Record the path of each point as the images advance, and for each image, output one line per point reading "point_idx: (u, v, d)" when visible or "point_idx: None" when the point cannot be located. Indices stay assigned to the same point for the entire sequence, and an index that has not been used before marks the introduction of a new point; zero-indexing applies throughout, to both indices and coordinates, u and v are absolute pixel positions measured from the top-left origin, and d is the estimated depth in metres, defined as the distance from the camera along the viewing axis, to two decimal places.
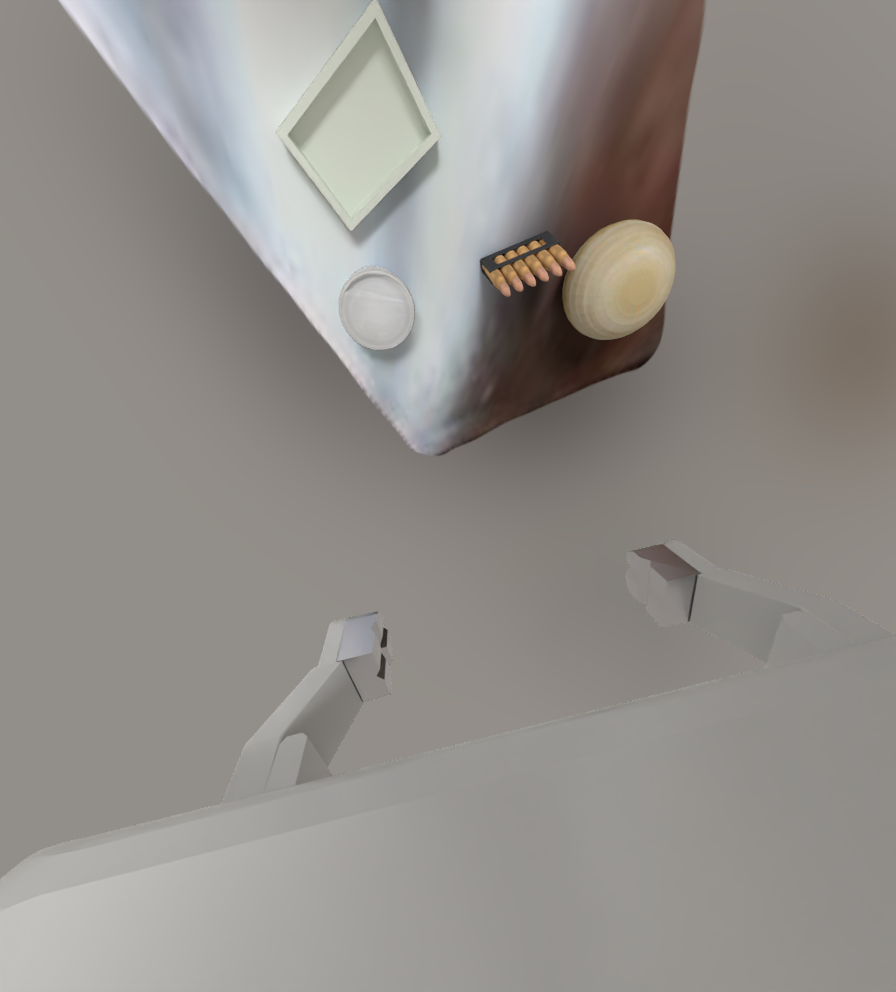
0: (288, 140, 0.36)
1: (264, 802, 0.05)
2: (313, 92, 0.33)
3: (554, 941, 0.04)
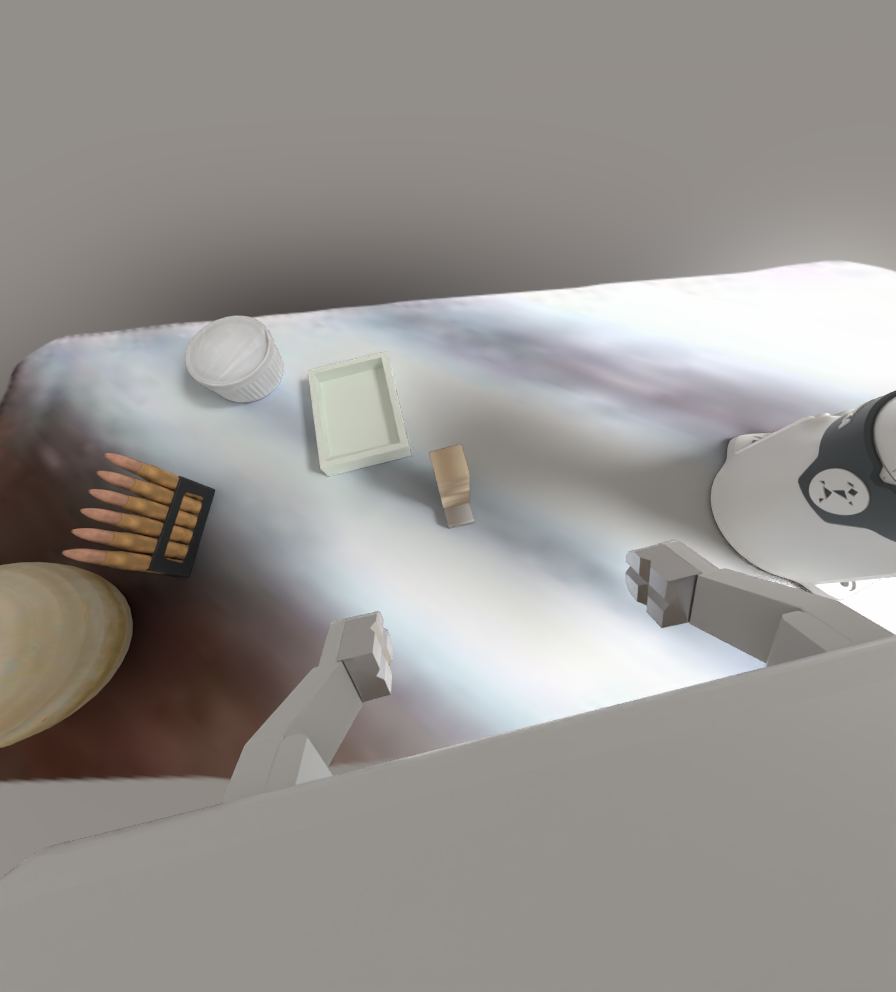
0: (378, 356, 0.43)
1: (264, 802, 0.05)
2: (390, 385, 0.41)
3: (554, 942, 0.03)
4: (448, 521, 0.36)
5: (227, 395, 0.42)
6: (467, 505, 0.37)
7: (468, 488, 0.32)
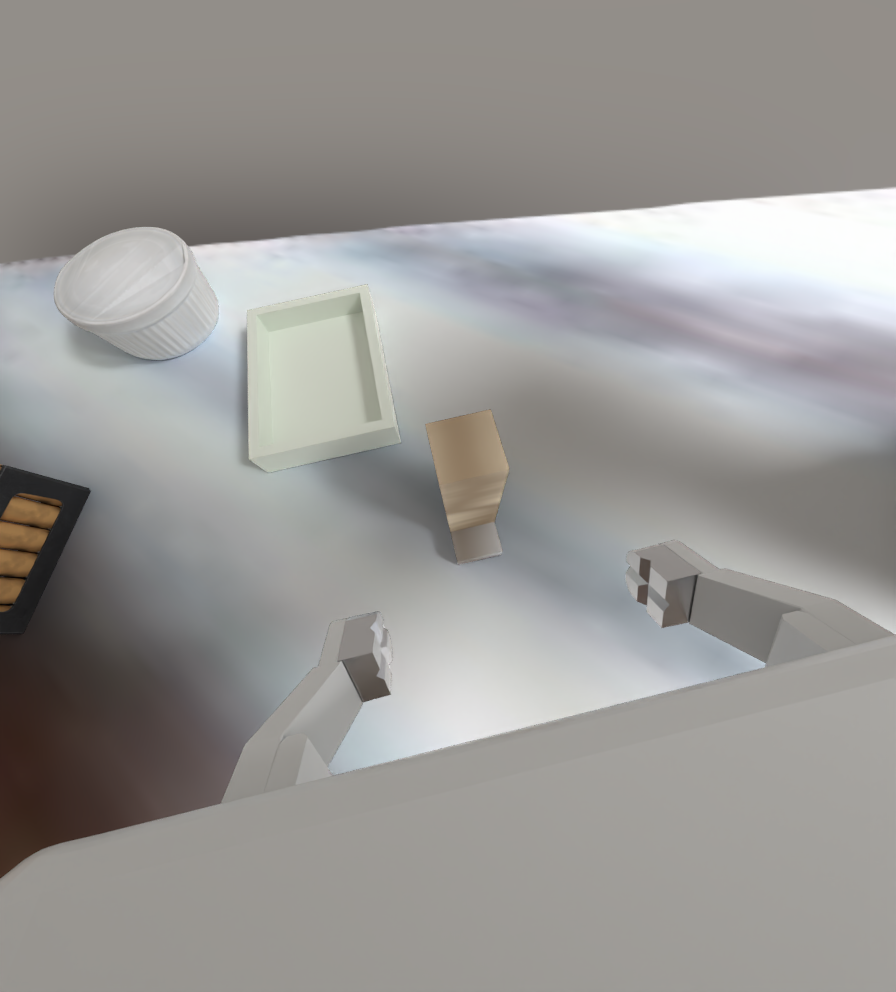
0: (355, 291, 0.28)
1: (264, 802, 0.05)
2: (371, 332, 0.26)
3: (554, 943, 0.03)
4: (458, 554, 0.21)
5: (121, 344, 0.27)
6: (491, 526, 0.21)
7: (498, 499, 0.17)
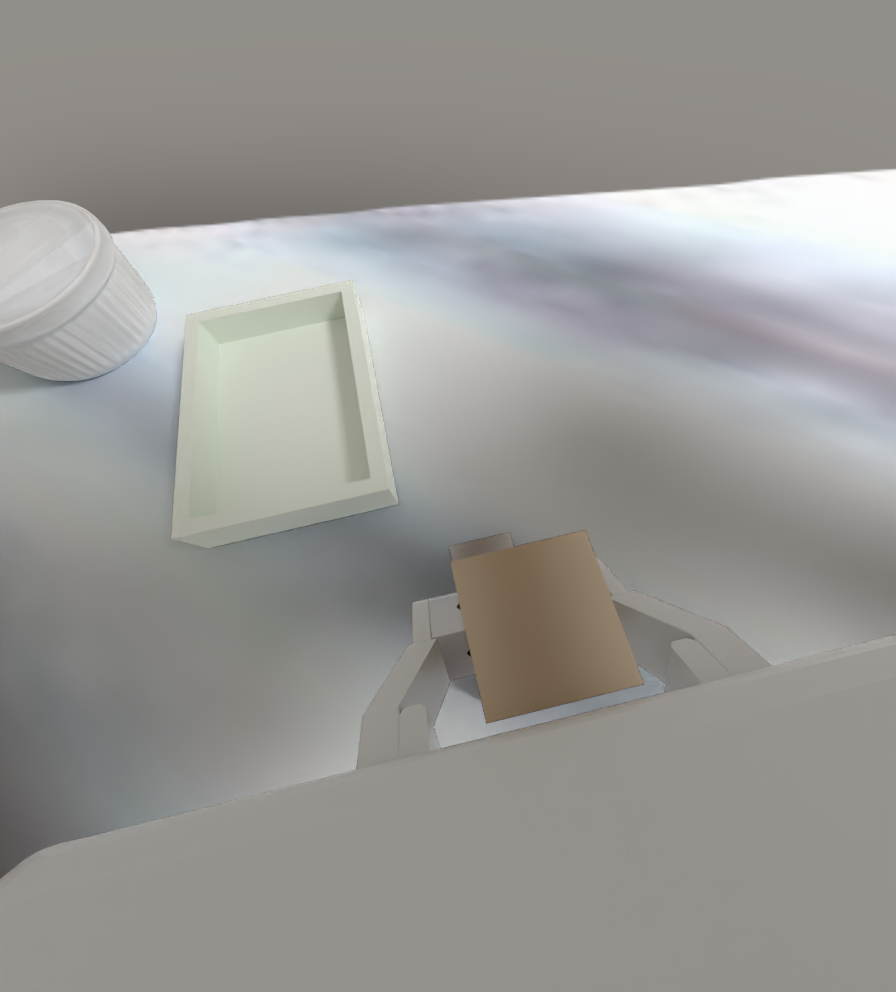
0: (335, 289, 0.20)
1: (264, 802, 0.05)
2: (356, 346, 0.19)
3: (554, 942, 0.03)
4: None
5: (8, 362, 0.20)
6: None
7: None
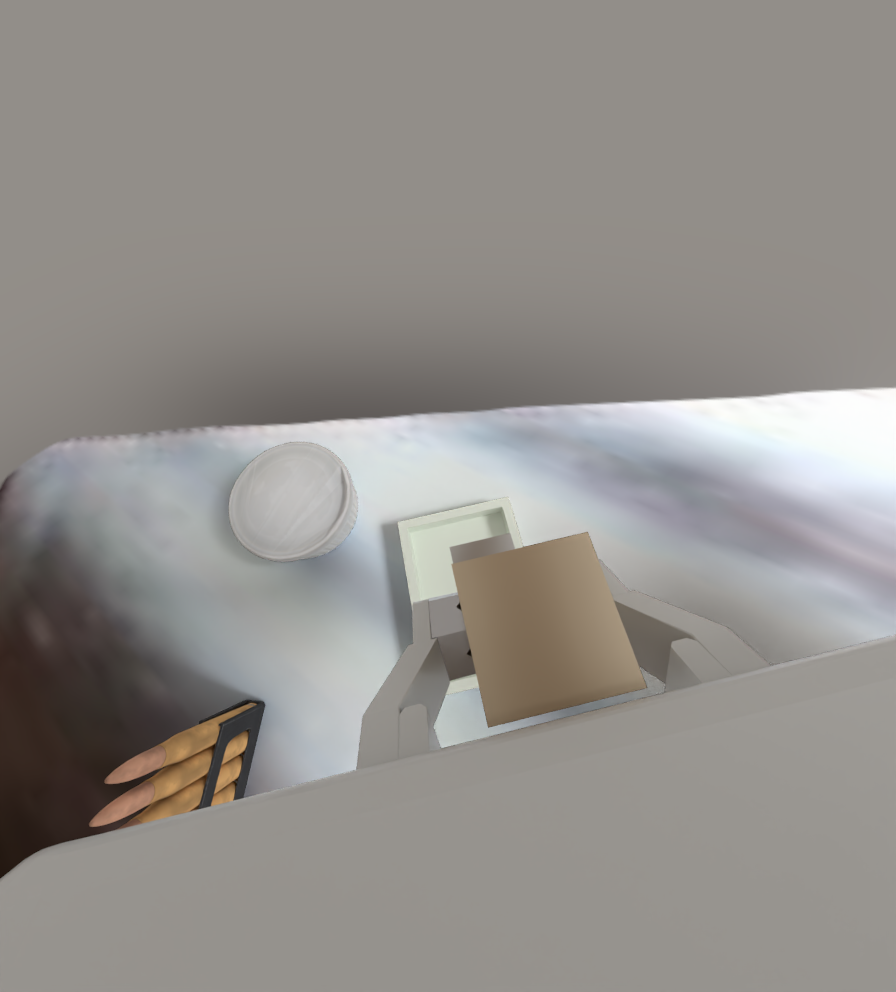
0: (498, 505, 0.30)
1: (264, 802, 0.05)
2: None
3: (554, 941, 0.04)
4: None
5: None
6: None
7: None
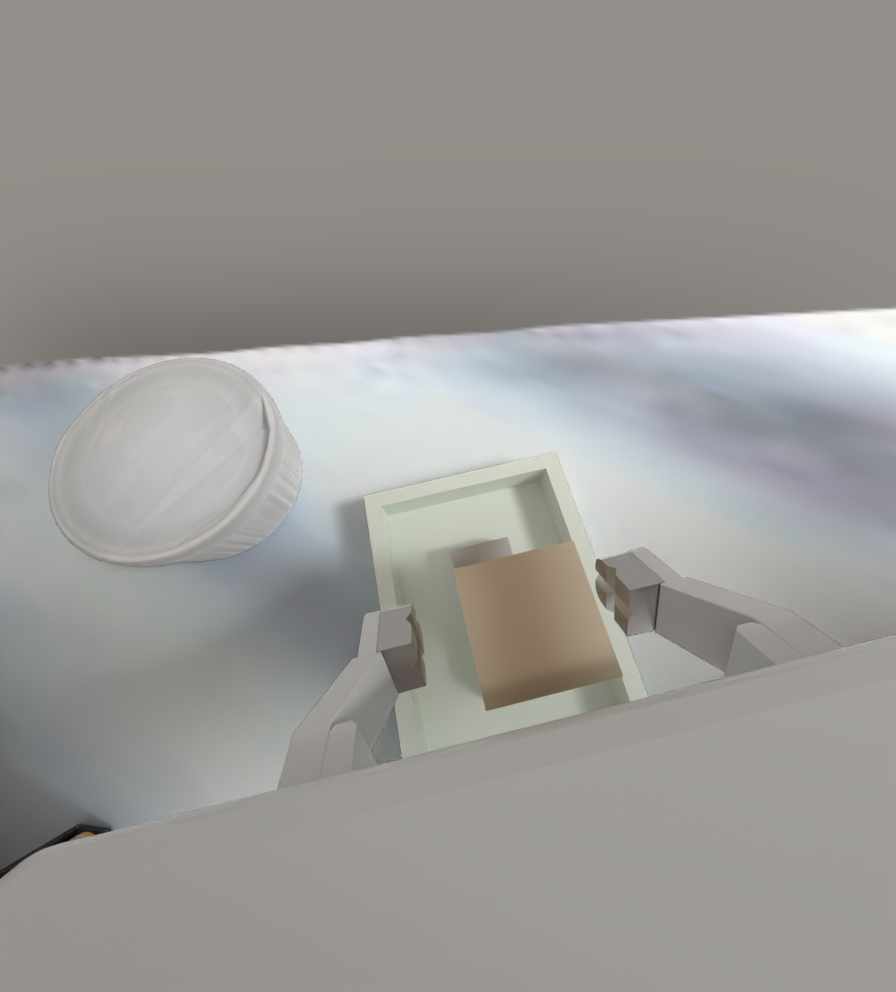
0: (538, 465, 0.17)
1: (264, 802, 0.05)
2: (583, 551, 0.16)
3: (554, 942, 0.03)
4: None
5: None
6: None
7: None
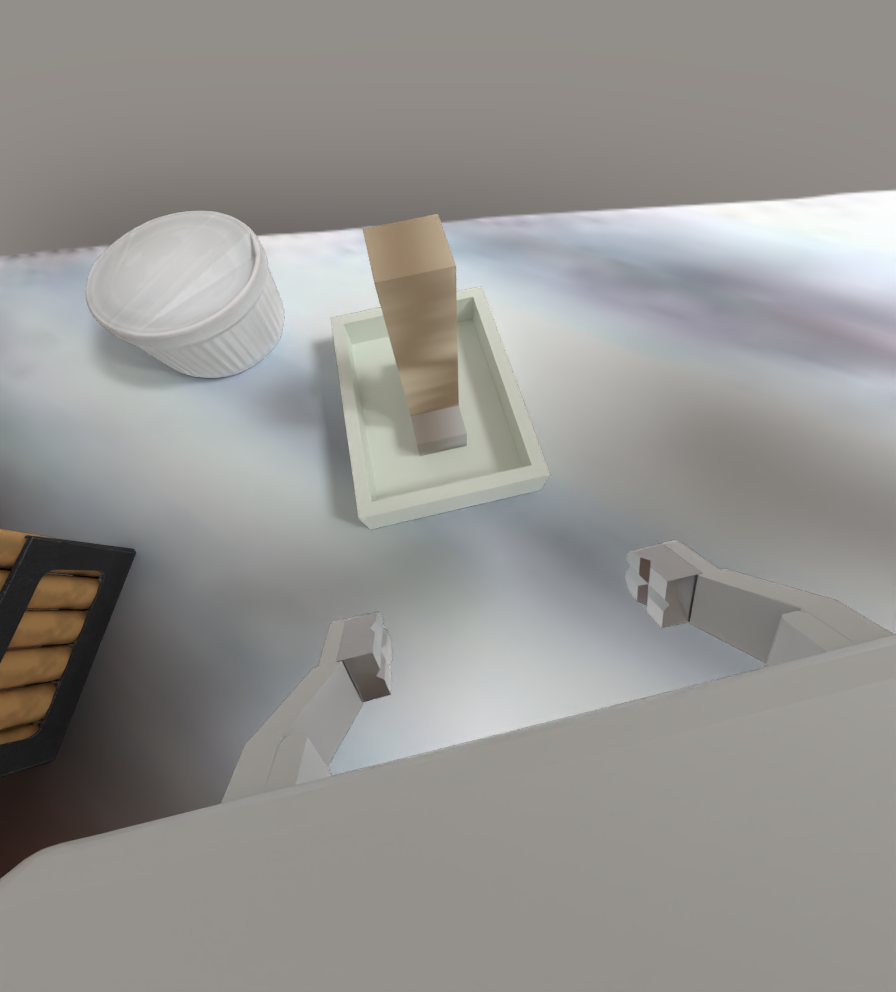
0: (467, 295, 0.22)
1: (264, 802, 0.05)
2: (496, 347, 0.21)
3: (554, 943, 0.03)
4: (418, 437, 0.19)
5: (172, 360, 0.21)
6: (455, 410, 0.20)
7: (455, 346, 0.15)
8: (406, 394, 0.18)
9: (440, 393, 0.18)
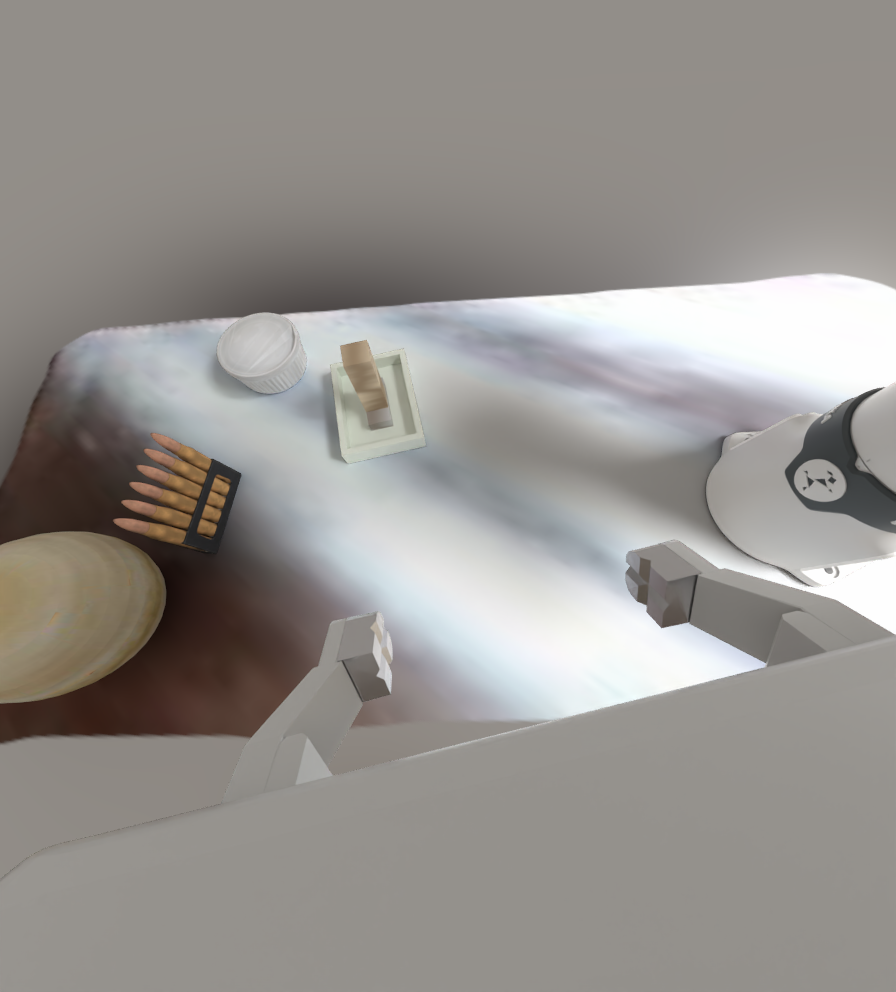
0: (396, 353, 0.46)
1: (264, 802, 0.05)
2: (407, 379, 0.44)
3: (554, 941, 0.04)
4: (369, 421, 0.43)
5: (254, 386, 0.45)
6: (386, 409, 0.43)
7: (378, 384, 0.39)
8: (362, 402, 0.41)
9: (377, 402, 0.42)
